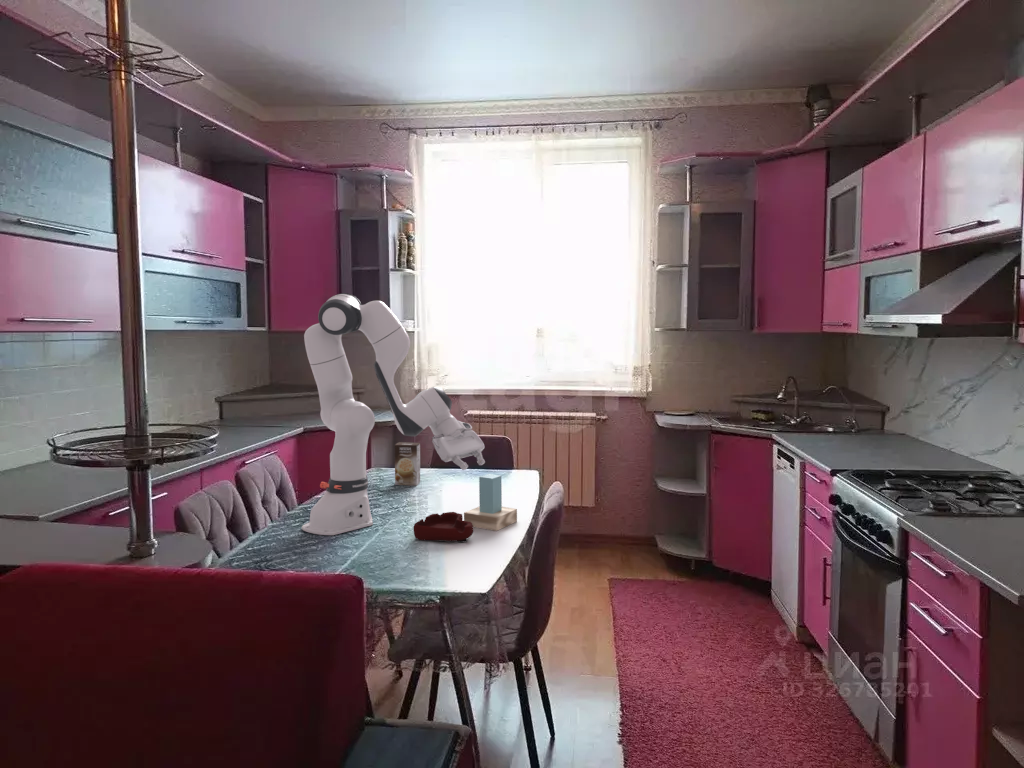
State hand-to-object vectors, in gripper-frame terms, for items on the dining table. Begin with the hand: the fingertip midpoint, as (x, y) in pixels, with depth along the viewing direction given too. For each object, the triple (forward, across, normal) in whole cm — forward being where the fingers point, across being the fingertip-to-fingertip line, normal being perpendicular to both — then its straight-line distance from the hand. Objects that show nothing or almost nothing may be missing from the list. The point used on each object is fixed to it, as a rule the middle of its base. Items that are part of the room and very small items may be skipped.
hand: (474, 466), depth 218 cm
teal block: (+14, 0, +5) cm, 15 cm away
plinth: (+17, 0, +8) cm, 19 cm away
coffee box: (-24, +30, +49) cm, 62 cm away
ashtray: (+14, -18, +13) cm, 26 cm away
